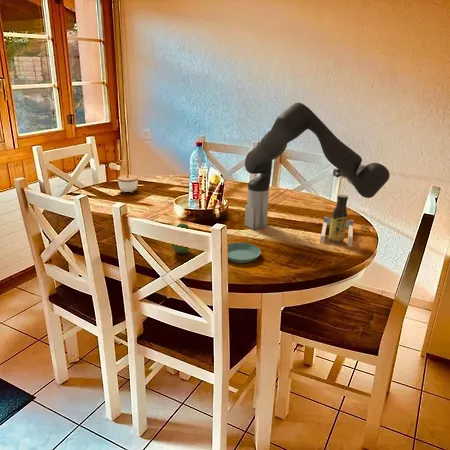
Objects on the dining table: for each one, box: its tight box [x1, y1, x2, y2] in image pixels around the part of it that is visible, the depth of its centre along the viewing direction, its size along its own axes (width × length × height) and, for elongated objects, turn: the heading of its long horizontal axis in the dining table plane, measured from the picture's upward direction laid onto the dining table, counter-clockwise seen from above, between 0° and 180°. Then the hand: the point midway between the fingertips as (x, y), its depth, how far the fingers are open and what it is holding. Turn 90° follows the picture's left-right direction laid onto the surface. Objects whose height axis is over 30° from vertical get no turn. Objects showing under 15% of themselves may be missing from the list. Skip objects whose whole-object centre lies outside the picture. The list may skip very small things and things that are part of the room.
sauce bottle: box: [328, 194, 349, 245], centre depth 169 cm, size 6×6×20 cm
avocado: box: [171, 222, 191, 255], centre depth 157 cm, size 8×8×12 cm
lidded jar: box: [117, 174, 139, 193], centre depth 229 cm, size 11×11×9 cm
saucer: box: [227, 242, 262, 264], centre depth 157 cm, size 15×15×3 cm
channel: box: [319, 216, 355, 248], centre depth 177 cm, size 18×12×5 cm
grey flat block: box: [327, 217, 350, 229], centre depth 192 cm, size 10×10×1 cm
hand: (350, 172), depth 157 cm, fingers open, 8 cm apart
